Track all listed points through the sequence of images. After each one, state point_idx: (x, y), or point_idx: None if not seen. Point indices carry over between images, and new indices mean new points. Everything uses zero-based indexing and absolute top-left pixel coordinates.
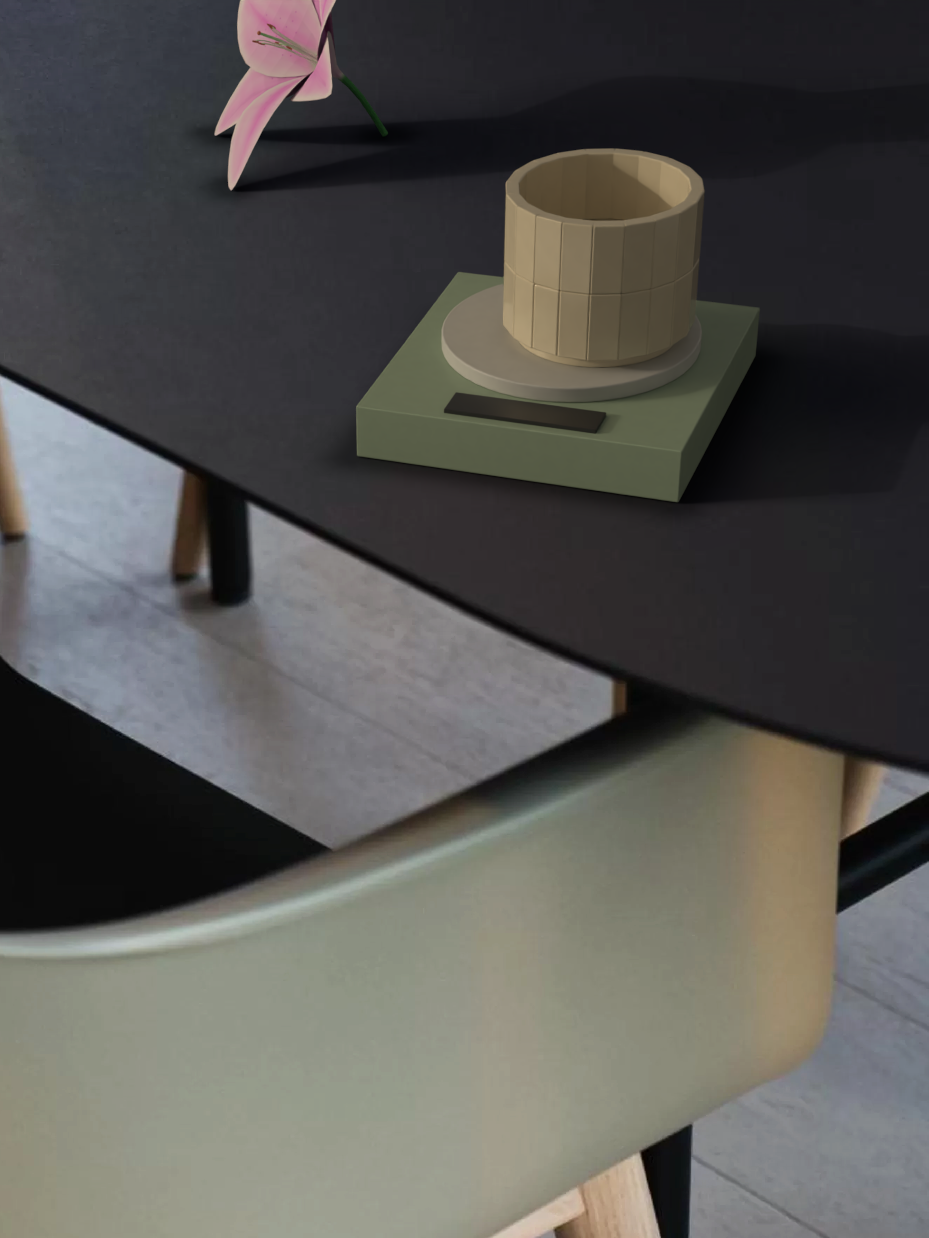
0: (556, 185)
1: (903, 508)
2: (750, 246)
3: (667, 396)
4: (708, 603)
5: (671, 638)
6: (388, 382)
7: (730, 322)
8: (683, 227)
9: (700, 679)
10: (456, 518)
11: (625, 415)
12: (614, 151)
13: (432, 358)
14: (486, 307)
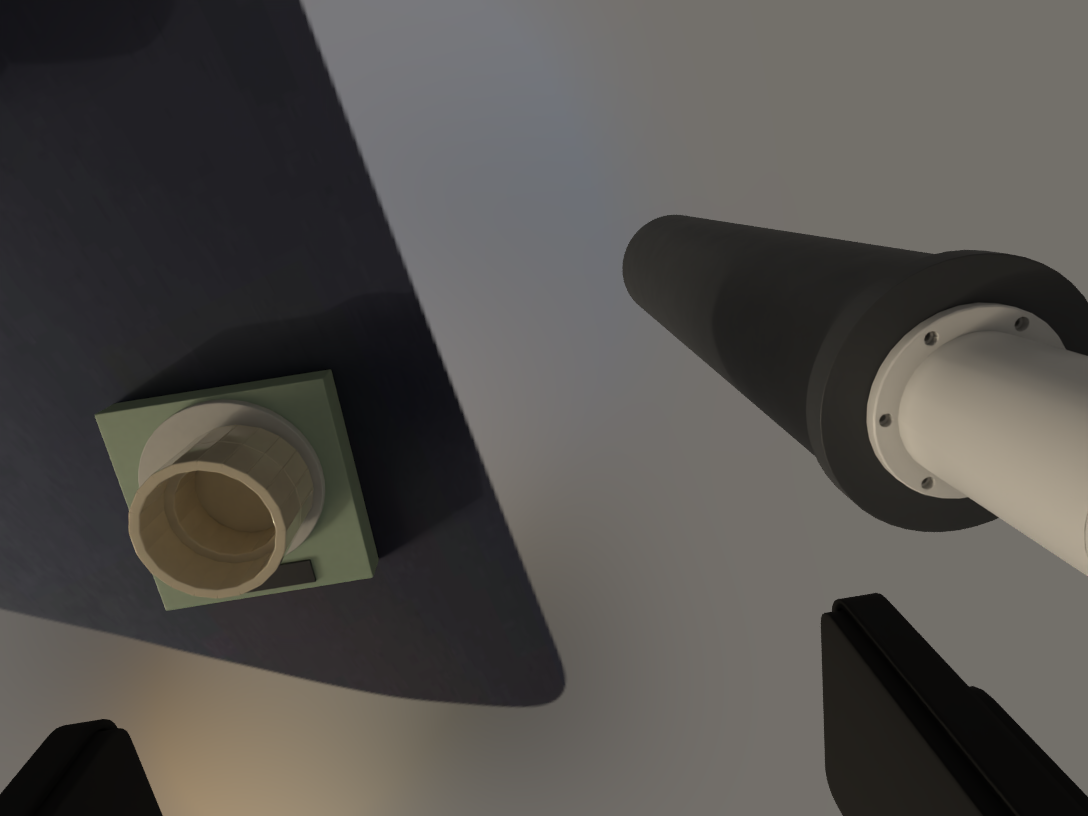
0: (155, 492)
1: (496, 510)
2: (235, 187)
3: (331, 522)
4: (441, 639)
5: (439, 673)
6: None
7: (315, 410)
8: (289, 539)
9: (467, 696)
10: (276, 623)
11: (320, 553)
12: (176, 472)
13: None
14: None
